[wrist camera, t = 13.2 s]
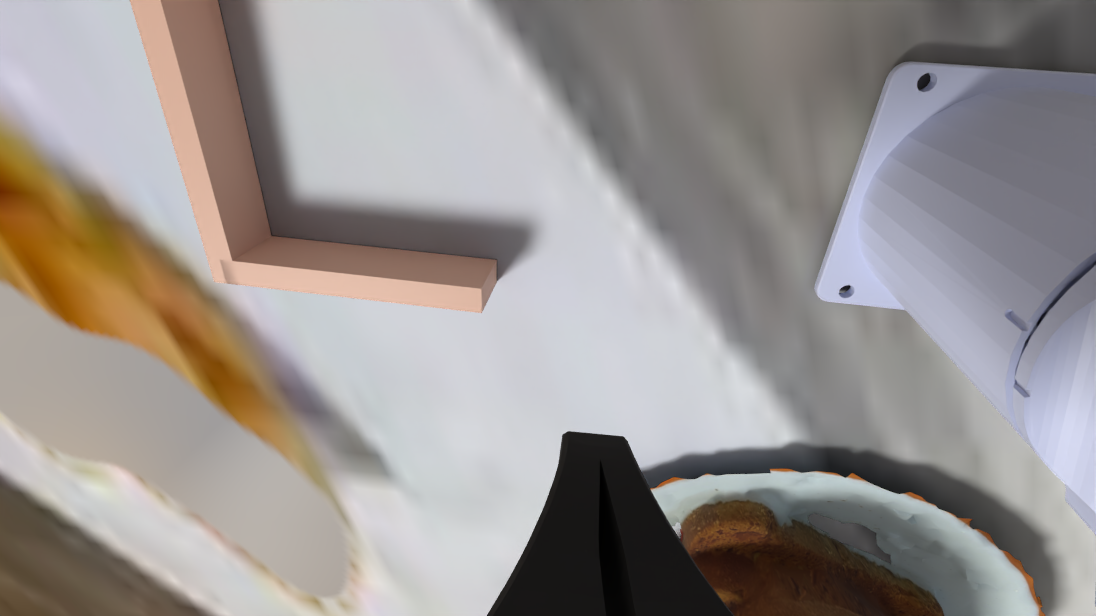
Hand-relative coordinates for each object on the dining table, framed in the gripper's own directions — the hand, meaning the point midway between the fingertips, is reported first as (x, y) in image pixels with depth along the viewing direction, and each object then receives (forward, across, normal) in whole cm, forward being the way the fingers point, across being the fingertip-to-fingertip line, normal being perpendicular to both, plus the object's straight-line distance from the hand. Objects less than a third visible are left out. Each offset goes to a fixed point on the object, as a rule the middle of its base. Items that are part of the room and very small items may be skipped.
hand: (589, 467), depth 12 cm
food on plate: (+10, -12, +20) cm, 26 cm away
